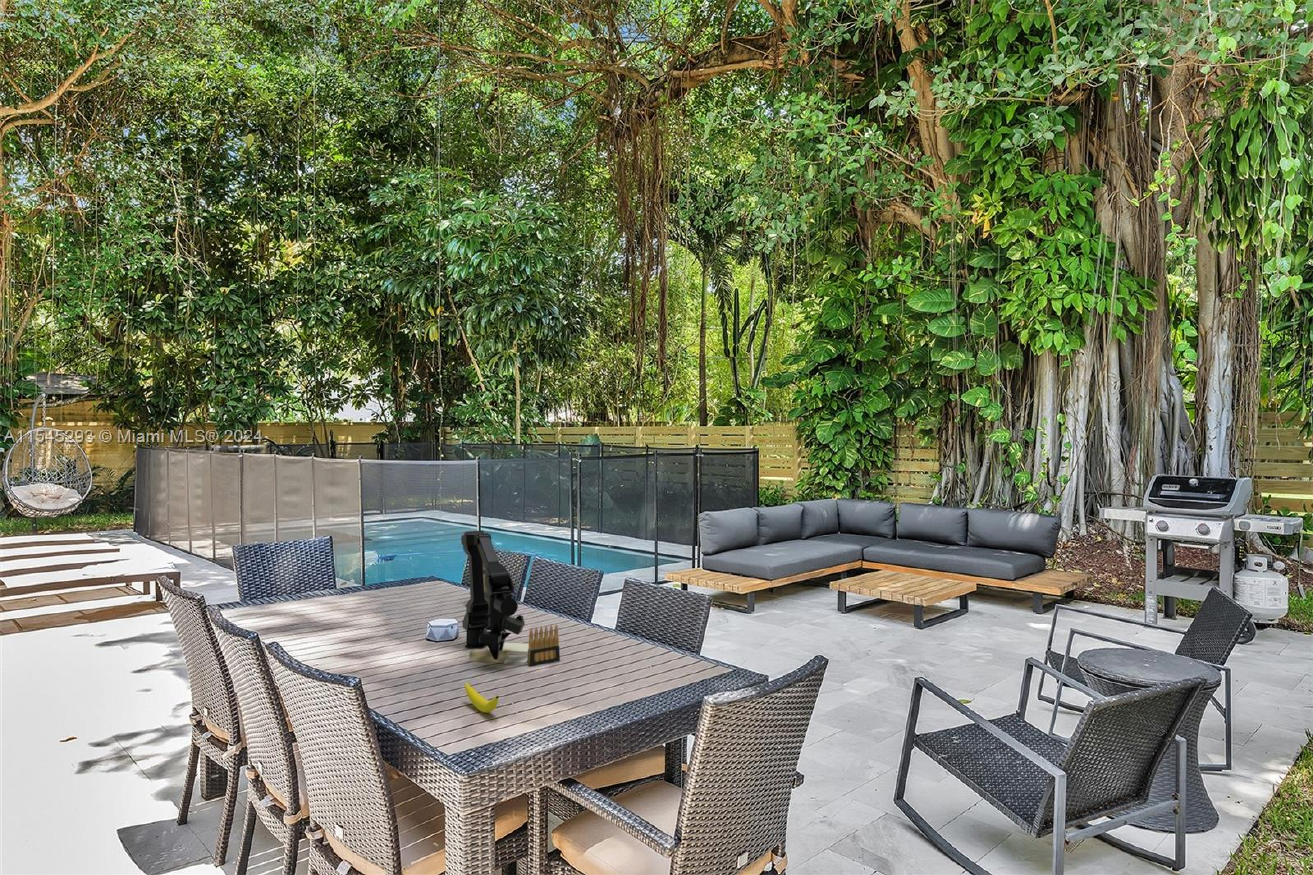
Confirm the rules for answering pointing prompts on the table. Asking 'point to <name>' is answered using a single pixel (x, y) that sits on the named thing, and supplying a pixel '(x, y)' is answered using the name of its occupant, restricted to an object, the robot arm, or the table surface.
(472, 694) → the banana
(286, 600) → the table surface
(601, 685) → the table surface
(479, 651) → the turner
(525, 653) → the board
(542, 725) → the table surface
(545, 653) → the ammunition clip
